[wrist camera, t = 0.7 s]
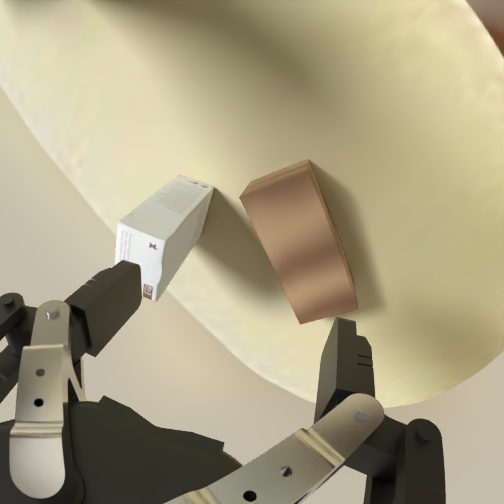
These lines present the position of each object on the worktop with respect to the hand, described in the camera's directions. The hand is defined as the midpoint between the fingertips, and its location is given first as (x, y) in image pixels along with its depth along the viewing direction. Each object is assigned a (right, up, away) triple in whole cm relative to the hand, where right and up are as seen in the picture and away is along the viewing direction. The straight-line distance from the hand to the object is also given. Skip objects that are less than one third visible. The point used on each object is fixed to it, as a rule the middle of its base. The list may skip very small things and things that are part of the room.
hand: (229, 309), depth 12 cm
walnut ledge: (+6, +4, +20) cm, 21 cm away
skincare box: (-5, +7, +21) cm, 23 cm away
